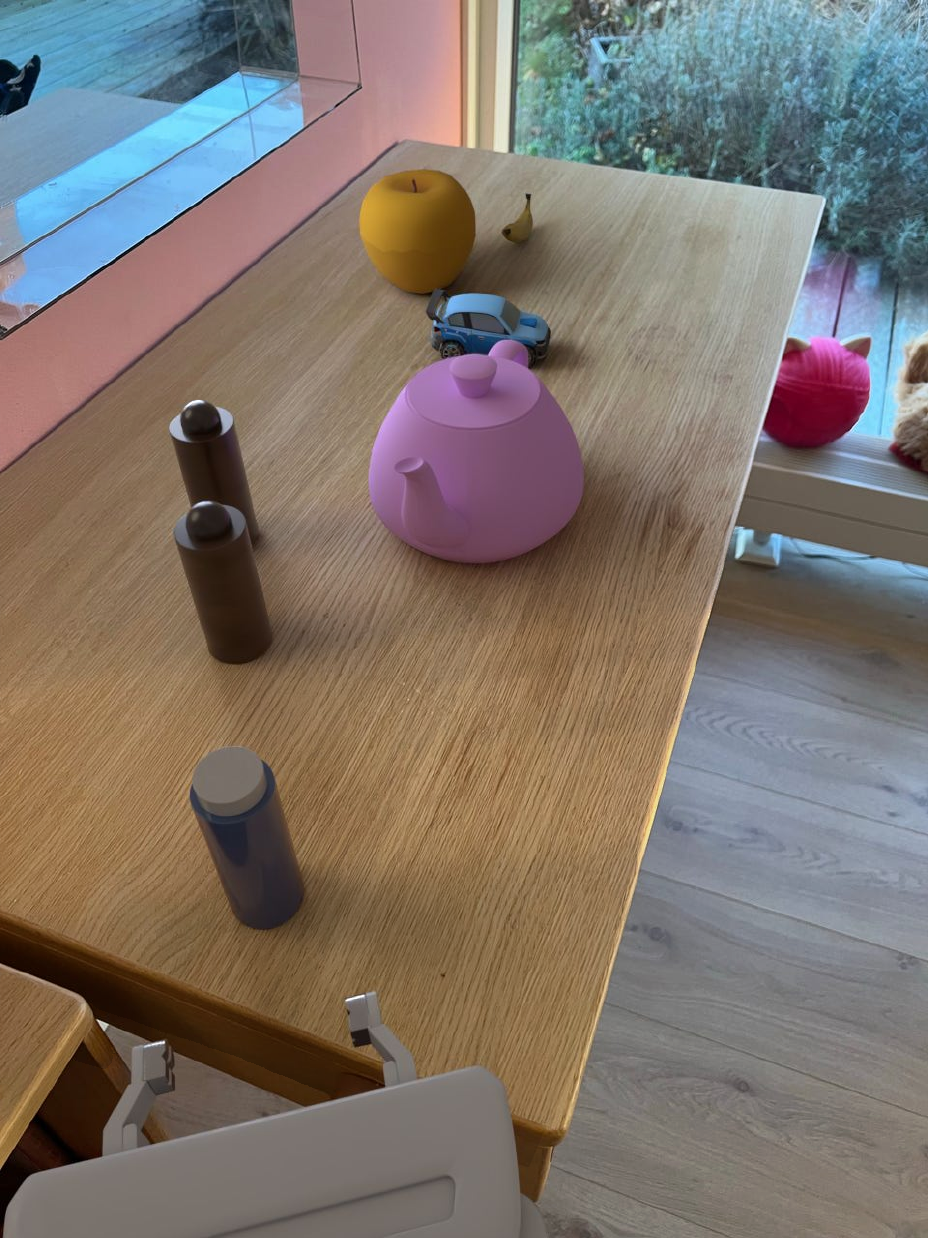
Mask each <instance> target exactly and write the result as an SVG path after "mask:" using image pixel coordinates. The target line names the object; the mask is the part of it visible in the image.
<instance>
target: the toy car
mask: <svg viewBox="0 0 928 1238" xmlns="http://www.w3.org/2000/svg"><path fill="white" fill-rule="evenodd" d="M442 297H443V299H444V302H442V303H441V304H440V306H439V302H440V301H441V300H442V299H441V298H442ZM437 308H438V309H437ZM425 313H426V315H427V317H428V319H430V320H431V321H433V323H432V326H431V330H430V335H429V339H428V340H429V343H431V347H432V349H434V350H435V351H436V352H439V354H440V358H441V360H444V359H447V358H452V357H457V356H463V355H467V354H481V355H489V353H490V351H491V349H492V348H493V346H494V345H495V344H496V343H497V342H499V341H502V340H514V341H517V342H520V343H522V344H523V345H524V346H525V347H526V349H527V352H528V367H530V366H532V365H533V363H534V362H541V361H544V360H545V359H546V357H547V356H548V353H549V350H550V344H551V336H552V330H551V328H550V327H549V324H548V322H547V320H545V319H544V318H543V317H541V316H540V315H538V314H534V313H531V312H526V311H524V310H521V309H519V308H518V307H517V306H516V305H515V304H514V303H513V302H511V301H510V300H509V299H506V298H504V297H503V296H500V295H497V294H496V295H495V294H486V293H477V292H476V293H462V294H457V295H453V296H451V295H450V294H449V293H448V292H447V291H446V290H443V289H440V290H439V289H437V288H435V289H434V291H433V292H432V294H431V296H430V299H429V301H428V304H427V306H426V310H425Z"/></svg>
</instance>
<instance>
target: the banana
mask: <svg viewBox="0 0 928 1238" xmlns="http://www.w3.org/2000/svg"><path fill="white" fill-rule="evenodd" d="M524 194H525V199H526V204H525V207H524V209H523V211H522V212H521V214H520V215H519V217H518V218H517V219H516V220H515V221H514V222H511V223H508V224H506V225H505V226H504V227H503V228H502V230H501V236H503V237H504V238H505V240H507V241H508V242H510V243H512V244H518V243H520V242H523V241H524V240H525V239H527V238H528V237H529V235H530V234H531V232H532V230H533V224H534V219H533V214H532V212H531V200H532V193H526V192H525V193H524Z"/></svg>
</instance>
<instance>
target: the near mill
mask: <svg viewBox="0 0 928 1238" xmlns="http://www.w3.org/2000/svg"><path fill="white" fill-rule="evenodd" d="M173 538H174V541H175V544H176V548H177V551H178V555H179V557H180V561H181V564H182V567H183V571H184V574H185V577H186V580H187V584H188V587H189V590H190V593H191V597H192V600H193V603H194V607H195V610H196V613H197V616H198V620H199V623H200V627H201V630H202V633H203V636H204V639H205V643H206V646H207V649H208V652H209V653H210V655H211V657H213V658H214V659H215V660H217V661H219V662H220V663H221V662H222V663H224V664H229V665H241V664H245V663H249V662H252V661H254V660H256V659H258V658H260V657H261V656H263V655H264V654H265V653H266V652H267V651H268V649H269V648H270V647H271V644H272V642H273V638H274V637H273V636H274V635H273V629H272V626H271V621H270V616H269V613H268V608H267V604H266V600H265V595H264V591H263V588H262V583H261V579H260V575H259V571H258V566H257V561H256V557H255V553H254V550H253V549H254V548H253V544H251V540H250V536H249V532H248V527H247V523H246V519H245V517H244V515H243V514H242V513H241V512H240V511H239V510H237V509H236V508H233V507H231V506H227V505H221V504H219V503H217V502H214V501H202V502H199V503H197V504H195V505H194V506H193V507H192V508H191V507H190V508H189V509H188V512H187V513H185V514H183V515H182V516H181V517H180V518H179V519H178V520H177V522H176V523H175V525H174V527H173Z"/></svg>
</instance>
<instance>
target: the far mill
mask: <svg viewBox="0 0 928 1238" xmlns="http://www.w3.org/2000/svg"><path fill="white" fill-rule="evenodd" d="M235 423H236V422H235V419H234V416H233V415H232V413H231V412H230V411H228V409H225V408H223V407H219V406H215V405H214V404H212V402H210V401H207V400H203V399H195V400H192V401H189V402H188V403H187V404H185V405H184V407H183V408H182V409H181V412H180V413H179V414H178V415H176V416H175V417H174V418H173V419H172V420H171V422H170V424H169V426H168V427H169V428H168V431H169V434H170V438H171V442H172V444H173V445H172V446H173V449H174V451H175V452H174V453H175V455H176V459H177V463H178V466H179V469H180V473H181V477H182V480H183V484H184V487H185V492H186V495H187V498H188V501H189V505H190V509H191V508H192V507H193V506H194V505H195V504H197V503H199V502H202V501H214V502H217V503H219V504H221V505H227V506H231V507H233V508H236V509H237V510H239V511H240V512H241V513H242V514H243V515H244V517H245V519H246V523H247V527H248V532H249V536H250V540H251V544H252V545H253V544H254V543H255V542H256V541H257V539H258V537H259V534H260V530H259V525H258V521H257V517H256V512H255V507H254V502H253V498H252V495H251V490H250V486H249V481H248V475H247V472H246V468H245V463H244V459H243V455H242V450H241V446H240V440H239V437H238V436H239V435H238V432H237V428H236V424H235Z"/></svg>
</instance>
